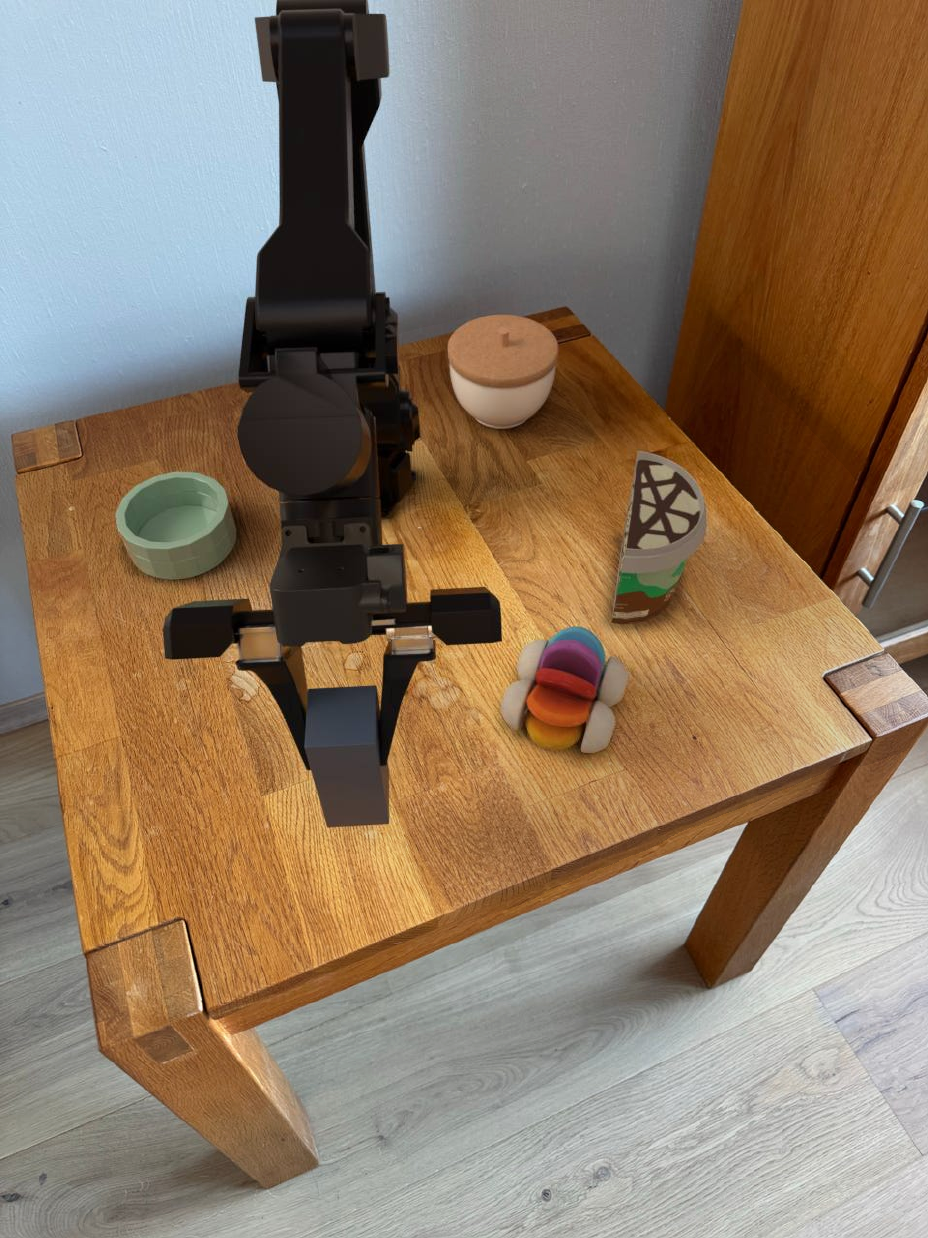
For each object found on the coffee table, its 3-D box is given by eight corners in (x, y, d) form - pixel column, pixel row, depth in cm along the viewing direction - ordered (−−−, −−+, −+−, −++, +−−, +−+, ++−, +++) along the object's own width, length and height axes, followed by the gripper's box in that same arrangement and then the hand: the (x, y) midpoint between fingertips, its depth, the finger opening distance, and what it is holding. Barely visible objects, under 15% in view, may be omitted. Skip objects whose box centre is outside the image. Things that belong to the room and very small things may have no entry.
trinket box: (427, 408, 95) (423, 329, 87) (502, 365, 99) (504, 286, 92) (500, 458, 90) (502, 379, 82) (574, 411, 94) (583, 331, 87)
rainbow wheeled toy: (491, 743, 69) (492, 688, 64) (530, 647, 75) (534, 589, 69) (600, 776, 67) (611, 723, 62) (631, 675, 73) (644, 618, 67)
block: (329, 773, 61) (308, 688, 53) (389, 769, 61) (376, 684, 54) (327, 828, 59) (304, 747, 51) (389, 824, 59) (376, 743, 51)
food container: (684, 647, 75) (708, 565, 67) (609, 636, 76) (624, 554, 68) (691, 540, 82) (714, 455, 75) (623, 531, 83) (638, 446, 75)
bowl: (107, 557, 82) (92, 526, 79) (174, 491, 87) (163, 459, 84) (193, 594, 79) (182, 562, 76) (257, 523, 84) (249, 491, 81)
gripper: (117, 506, 44) (145, 820, 46) (503, 488, 45) (516, 799, 46) (180, 509, 55) (201, 761, 57) (489, 494, 56) (500, 745, 57)
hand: (346, 766), depth 54 cm, fingers closed on block, 4 cm apart
